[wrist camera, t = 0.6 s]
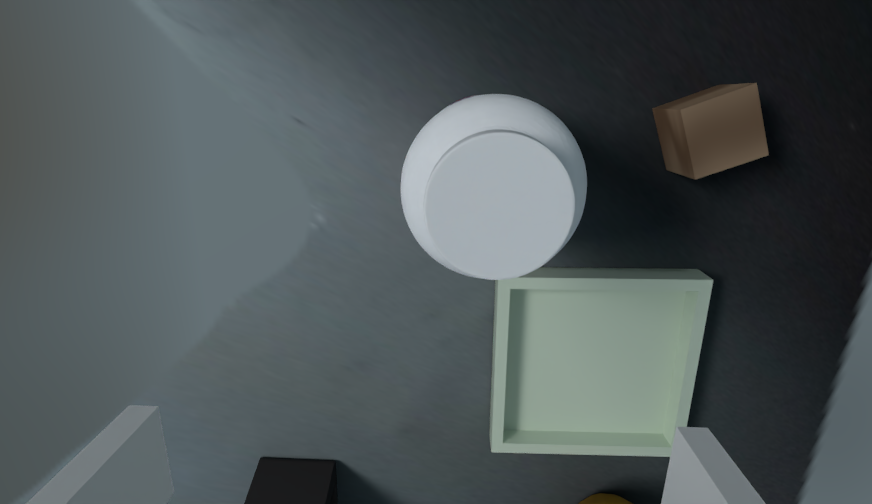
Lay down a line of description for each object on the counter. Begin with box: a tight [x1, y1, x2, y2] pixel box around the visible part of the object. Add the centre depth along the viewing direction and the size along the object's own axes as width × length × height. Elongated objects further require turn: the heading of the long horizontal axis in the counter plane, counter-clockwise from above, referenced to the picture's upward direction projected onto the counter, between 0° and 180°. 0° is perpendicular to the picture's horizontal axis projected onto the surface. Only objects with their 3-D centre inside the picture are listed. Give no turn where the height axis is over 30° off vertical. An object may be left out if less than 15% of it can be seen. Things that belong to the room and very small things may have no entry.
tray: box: [489, 267, 713, 457], centre depth 34 cm, size 14×14×2 cm
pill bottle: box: [401, 94, 587, 280], centre depth 24 cm, size 8×8×14 cm
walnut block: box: [653, 83, 769, 180], centre depth 28 cm, size 4×4×4 cm
